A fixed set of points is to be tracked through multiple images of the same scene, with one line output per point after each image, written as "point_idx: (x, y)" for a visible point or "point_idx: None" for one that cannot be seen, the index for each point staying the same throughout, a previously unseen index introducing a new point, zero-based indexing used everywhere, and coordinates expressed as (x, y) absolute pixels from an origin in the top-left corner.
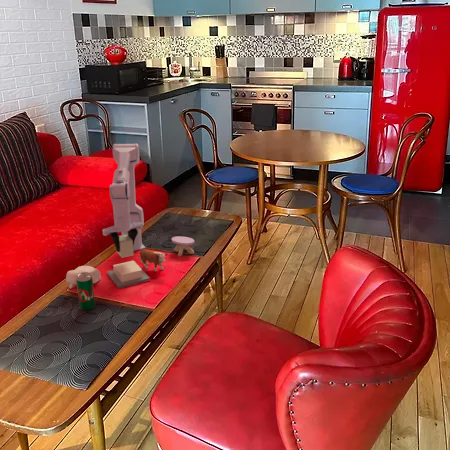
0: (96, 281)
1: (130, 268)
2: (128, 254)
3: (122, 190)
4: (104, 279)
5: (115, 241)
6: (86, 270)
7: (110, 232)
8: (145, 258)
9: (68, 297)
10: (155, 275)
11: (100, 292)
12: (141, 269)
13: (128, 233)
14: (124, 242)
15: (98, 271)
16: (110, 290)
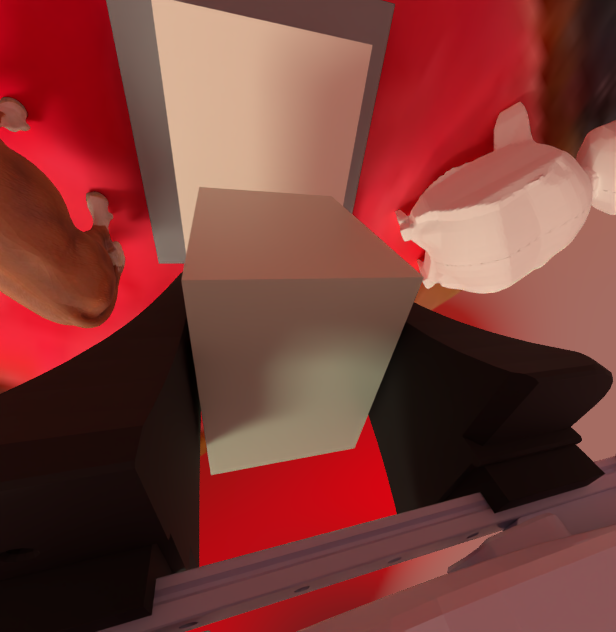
0: (446, 174)
1: (253, 124)
2: (263, 196)
3: None
4: (377, 205)
5: (471, 329)
6: (560, 196)
7: (592, 501)
8: (72, 224)
9: (590, 119)
10: (24, 16)
11: (484, 48)
12: (156, 11)
13: (196, 483)
14: (352, 274)
15: (452, 207)
16: (433, 25)
